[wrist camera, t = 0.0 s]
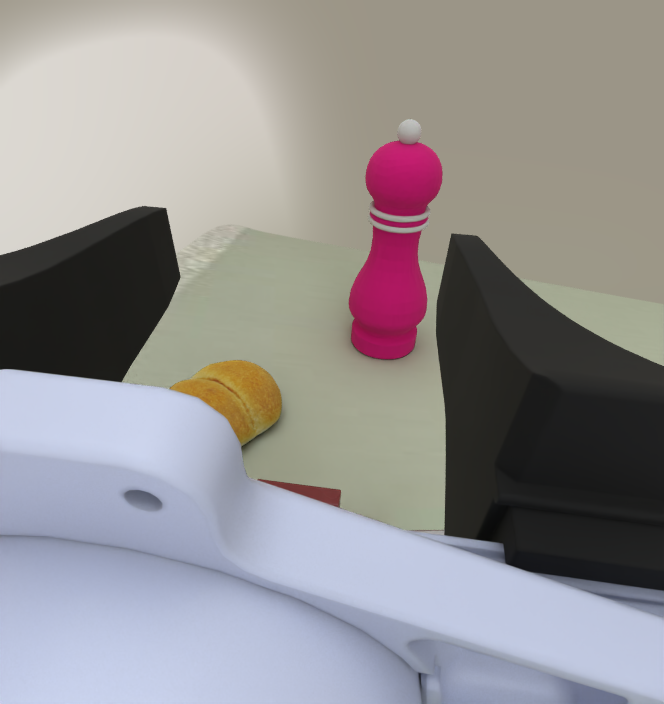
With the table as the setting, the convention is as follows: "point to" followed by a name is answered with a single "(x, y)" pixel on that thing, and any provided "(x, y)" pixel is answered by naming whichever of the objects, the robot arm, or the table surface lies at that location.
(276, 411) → the bread roll
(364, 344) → the pepper mill
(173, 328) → the table surface
